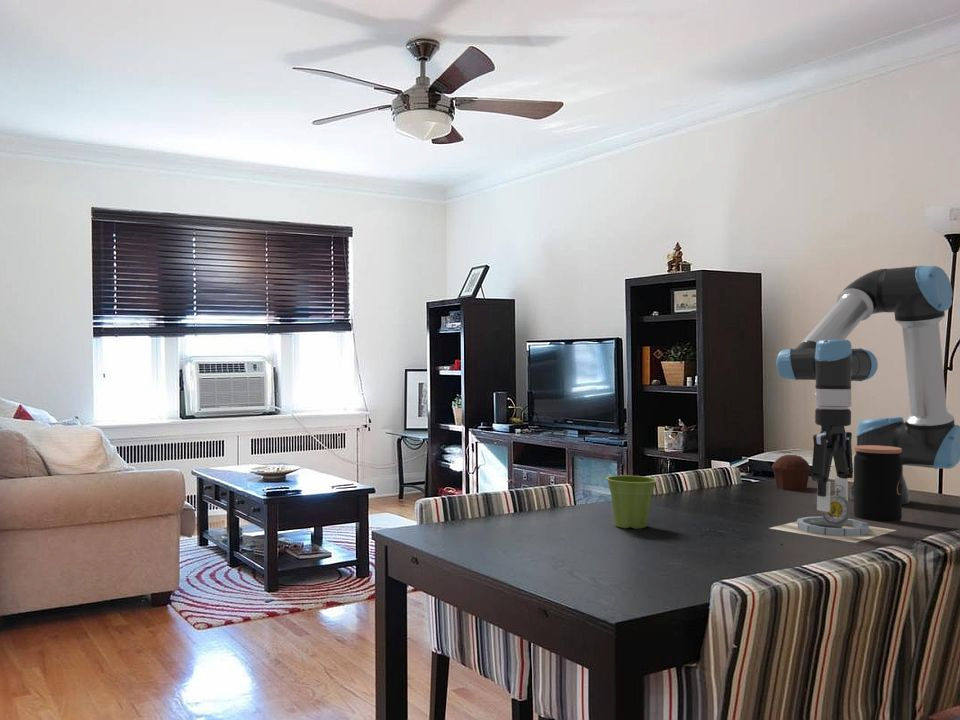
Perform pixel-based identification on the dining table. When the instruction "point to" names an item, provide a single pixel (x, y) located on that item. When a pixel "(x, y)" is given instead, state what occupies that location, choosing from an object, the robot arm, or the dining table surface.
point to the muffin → (791, 472)
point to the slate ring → (858, 529)
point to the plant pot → (631, 499)
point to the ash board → (872, 533)
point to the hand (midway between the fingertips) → (832, 508)
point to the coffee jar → (878, 483)
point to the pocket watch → (835, 511)
